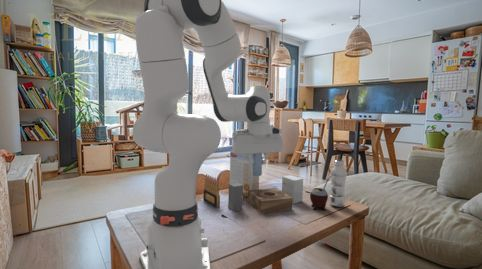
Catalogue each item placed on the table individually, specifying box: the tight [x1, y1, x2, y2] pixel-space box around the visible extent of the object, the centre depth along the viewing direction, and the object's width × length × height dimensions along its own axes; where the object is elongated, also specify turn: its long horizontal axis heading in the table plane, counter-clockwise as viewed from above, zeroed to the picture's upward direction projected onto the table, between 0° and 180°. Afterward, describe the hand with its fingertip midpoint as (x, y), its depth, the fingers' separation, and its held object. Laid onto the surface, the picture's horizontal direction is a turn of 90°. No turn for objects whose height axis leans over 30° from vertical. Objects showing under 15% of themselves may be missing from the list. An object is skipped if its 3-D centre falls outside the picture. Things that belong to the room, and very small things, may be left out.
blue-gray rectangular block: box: [252, 152, 263, 177], centre depth 103 cm, size 4×4×10 cm
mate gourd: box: [309, 174, 334, 211], centre depth 110 cm, size 8×8×15 cm
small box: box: [281, 174, 304, 204], centre depth 119 cm, size 8×6×10 cm
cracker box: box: [229, 149, 260, 198], centre depth 125 cm, size 14×6×21 cm, turn 49°
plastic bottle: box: [328, 159, 348, 208], centre depth 113 cm, size 6×7×20 cm
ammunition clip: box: [202, 173, 221, 209], centre depth 112 cm, size 11×2×12 cm, turn 38°
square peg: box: [227, 183, 244, 212], centre depth 108 cm, size 4×4×10 cm
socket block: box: [247, 187, 293, 214], centre depth 112 cm, size 14×14×5 cm
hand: (257, 164), depth 103 cm, fingers closed on blue-gray rectangular block, 4 cm apart
